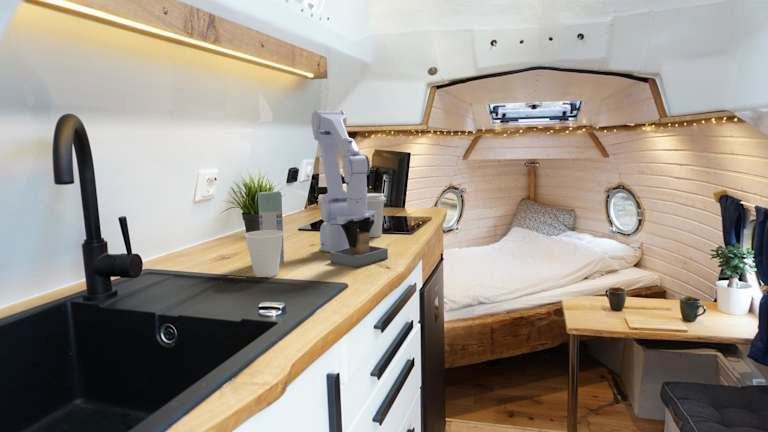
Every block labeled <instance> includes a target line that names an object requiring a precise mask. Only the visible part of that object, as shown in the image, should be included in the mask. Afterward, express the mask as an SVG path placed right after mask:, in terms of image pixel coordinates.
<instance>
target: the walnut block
mask: <svg viewBox="0 0 768 432" xmlns="http://www.w3.org/2000/svg"><path fill="white" fill-rule="evenodd" d="M369 246H370V238H369V232H362V231H357V244H356V247H355V248H353V247H349V251H350V254H353V255H359V256H360V255H363V254H367V253H369Z"/></svg>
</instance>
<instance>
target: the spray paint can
mask: <svg viewBox="0 0 768 432" xmlns="http://www.w3.org/2000/svg"><path fill="white" fill-rule="evenodd" d="M282 197H283V196H282V192H281V191H261V192H258V194H257V205H258V220H259V231H261V230H278V231H282V232H284V226H283V225H284V224H283V222H284V221H283V220H284V219H283V199H282ZM284 246H285V245H284V237H283V238H282V247H281V255H280V262H279V265H280V264H282V263H284V262H285V250H284Z"/></svg>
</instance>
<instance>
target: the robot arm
mask: <svg viewBox="0 0 768 432" xmlns="http://www.w3.org/2000/svg"><path fill="white" fill-rule="evenodd" d="M310 121H311V129H312V134H313V136H314V137H313V138H314V140H315V141H317V142H318V143H319V148H320V151H321V152H320V154H321V159H322V163H323V164H322V165H323V170H324V177H325V182H326V189H327V192H326V193H325V194H324V195H323V196H322V197H321V200H320V215H321V219H322V221H323V223H322V224H321V226H320V228H319V239H320V243H319V244H320V245H319V246H320V248H318V251H322V252H327V253H330V252H333V251H337V250H341V249H345V248H349V247H353V248H355V247H356V244H357V231H362V232H369V233H370V230H371V228H372V226H373V224H374V220H373V219H370V218H376V217H377V212H376V211H367V193H368V185H367V184H368V180H367V176H368V175H369V174H370V171H371V163H370V159H369V157H368V154H364V153H362V152H361V151H360V149H359V147H358V144H357V143H356V140H355V139H354V138H351V137H349V134H348V132H347V131H348V130H347V128H346V126H347V121H348V120H347V115H346V112H345V111H344V110H341V109H340V110H318V109H314V111H313V112H312V114H311V120H310ZM336 143H337V144H336ZM338 154H339V156H338ZM339 157H340V159H341V162H342V172H343V179H344V182H345V184H346V187H345V188H346V190H344V185H343V181H342V175H341V174H342V173H341V168H340V162H339Z"/></svg>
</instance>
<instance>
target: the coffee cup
mask: <svg viewBox="0 0 768 432" xmlns="http://www.w3.org/2000/svg"><path fill="white" fill-rule="evenodd" d="M385 201H386V198H385V196H384V194H383V193H378V192H369V193H368V192H367V211H376V212H377V217H376V218H370V219H373V220H374V224H373V226H372V228H371V230H370V233H369V237H375V238H380V236H381V237H382V235H383V220H384V217H383V216H384V206H385Z"/></svg>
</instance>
